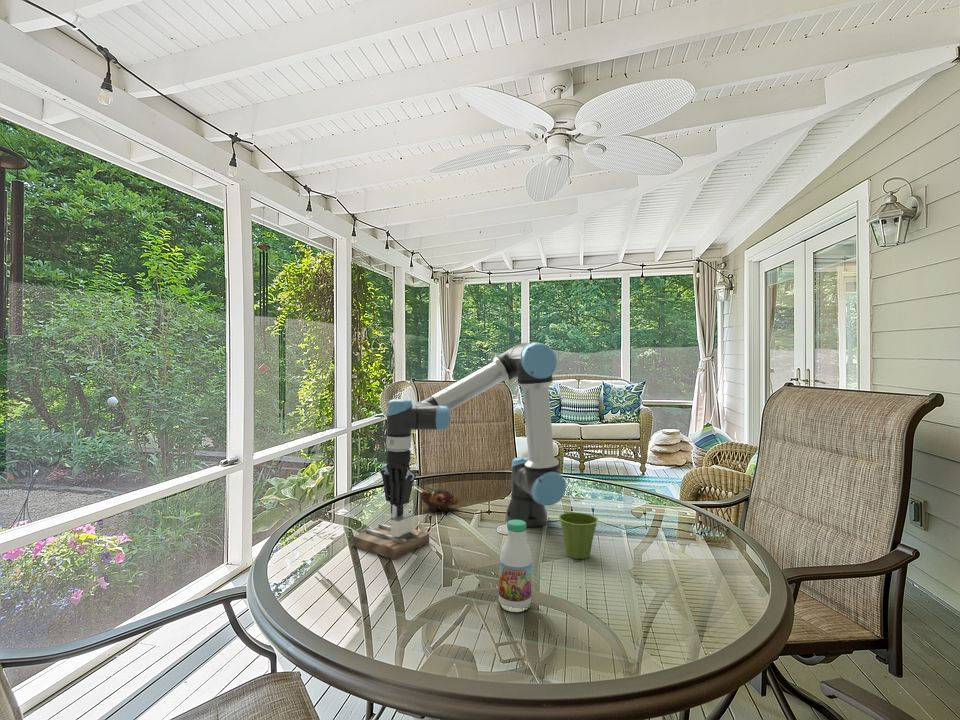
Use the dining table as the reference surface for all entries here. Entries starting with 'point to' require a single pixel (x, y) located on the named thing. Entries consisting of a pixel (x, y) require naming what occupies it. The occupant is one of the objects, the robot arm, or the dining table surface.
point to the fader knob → (402, 525)
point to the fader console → (389, 541)
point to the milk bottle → (515, 567)
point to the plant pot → (578, 533)
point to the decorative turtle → (438, 499)
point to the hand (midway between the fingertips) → (396, 525)
